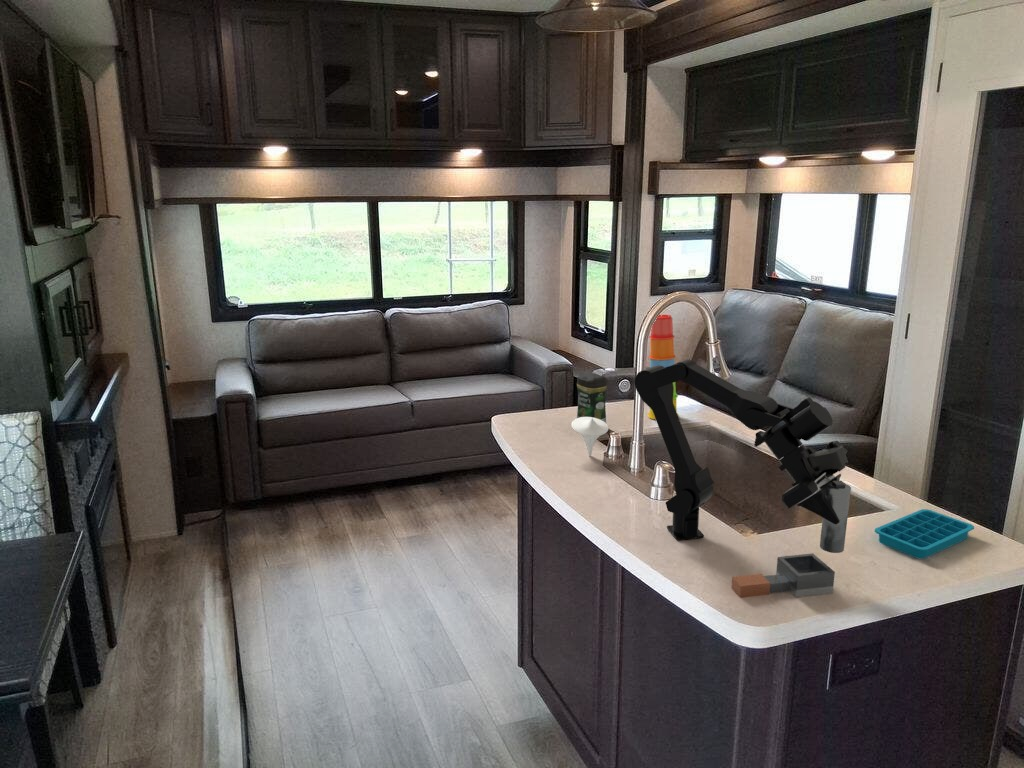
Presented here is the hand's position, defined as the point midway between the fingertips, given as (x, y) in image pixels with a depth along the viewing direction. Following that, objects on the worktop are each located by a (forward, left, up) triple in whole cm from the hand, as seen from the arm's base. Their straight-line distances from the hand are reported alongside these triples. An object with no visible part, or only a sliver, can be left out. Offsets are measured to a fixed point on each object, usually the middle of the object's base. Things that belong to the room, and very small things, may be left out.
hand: (842, 519), depth 144 cm
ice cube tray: (-12, +29, -14) cm, 34 cm away
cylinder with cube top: (-1, -1, -7) cm, 7 cm away
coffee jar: (-103, -22, -14) cm, 106 cm away
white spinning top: (-79, -29, -13) cm, 85 cm away
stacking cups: (-110, +5, -14) cm, 111 cm away
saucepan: (0, -12, -13) cm, 18 cm away
